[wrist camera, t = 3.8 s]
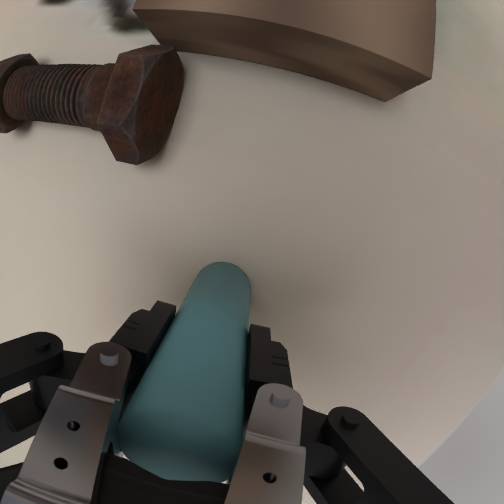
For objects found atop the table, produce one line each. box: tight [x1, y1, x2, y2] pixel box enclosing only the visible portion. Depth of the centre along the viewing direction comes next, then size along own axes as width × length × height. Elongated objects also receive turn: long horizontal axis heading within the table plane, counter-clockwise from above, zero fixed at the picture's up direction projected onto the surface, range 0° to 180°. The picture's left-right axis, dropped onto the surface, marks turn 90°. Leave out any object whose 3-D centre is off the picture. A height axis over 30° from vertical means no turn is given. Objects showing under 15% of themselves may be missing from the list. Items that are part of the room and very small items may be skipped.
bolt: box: [0, 45, 183, 165], centre depth 12 cm, size 6×5×15 cm
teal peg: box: [119, 262, 250, 483], centre depth 11 cm, size 3×3×11 cm
